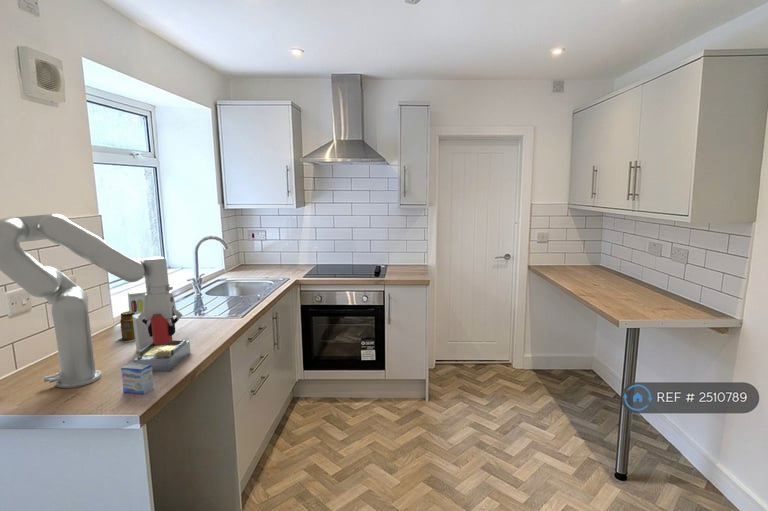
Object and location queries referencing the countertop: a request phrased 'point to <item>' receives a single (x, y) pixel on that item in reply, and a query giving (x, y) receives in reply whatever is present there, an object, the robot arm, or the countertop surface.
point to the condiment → (127, 327)
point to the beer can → (160, 330)
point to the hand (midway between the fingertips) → (162, 334)
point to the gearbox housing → (164, 355)
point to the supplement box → (136, 300)
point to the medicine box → (137, 378)
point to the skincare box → (141, 333)
